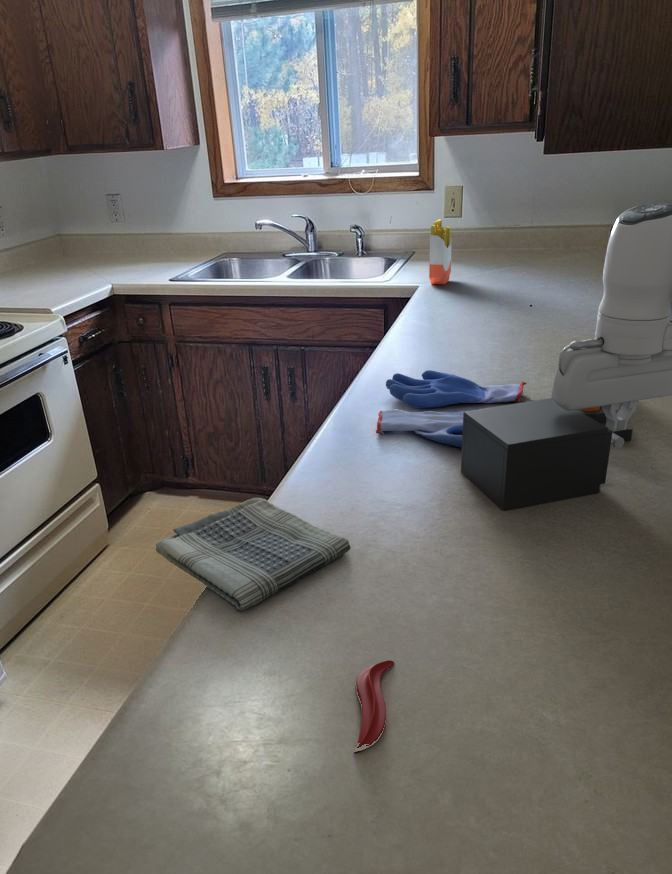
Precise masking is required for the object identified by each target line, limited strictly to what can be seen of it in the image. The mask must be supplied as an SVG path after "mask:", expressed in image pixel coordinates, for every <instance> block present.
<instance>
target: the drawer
mask: <svg viewBox="0 0 672 874" xmlns="http://www.w3.org/2000/svg"><path fill="white" fill-rule="evenodd" d="M607 434H608V435H607V442H606V449H605V456H604V463H603V471H602V478H601V485H604V484H606V480H607V473H608V466H609V460H610V459H609V458H610V454H611V447H612V448H615V449H620V448H622V447H623V446H624V444H625V442H624V439H623V438H621V437H620V436H618V435H616V434H614V433H613V431H611V430H609V429H608V433H607Z"/></svg>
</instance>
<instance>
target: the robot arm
mask: <svg viewBox="0 0 672 874" xmlns="http://www.w3.org/2000/svg"><path fill="white" fill-rule="evenodd" d="M602 283H603V295H602V298H601V301H600V303H599V306H598V310H597V317H596V325H595V333H594V338H588V339H585V340H574V341H571V342H570V343H569V345H567V346H565V347H564V348H563V350H560V353H559V356H558V364H557V365H558V366H557V369H556V373H555V376H554V380H553V385H552V391H551V398H552V400H553V401H554V402H555V404H556V405H558V406H559V407H561V408H563V409H565V410H567V411H572V410H578V409H585V408H592V407H598V406H601V407H602V409H603V411H604V413H605V415H606V417H607V420H606V427H608V429H609V430H611V431H613V432H615V431H621V430H626V429H627V424H628V422H629V420H630V418H631V417H632V416H633V415H634V413H635V411H636V410H637V409H638V407H639V401H643V400H650V399H658V398H664V397H670V396H672V320H671V319H670V317H671V312H672V311H671V303H672V203H664V202H658V203H657V202H655V203H649V204H641V205H636V206H633V207H630V208H627V209H626V210H624V211H623V212H622V213H620V214H619V216H618V217H617V218H616V220H615V222H614V224H613V227H612V229H611V232H610V236H609V239H608V243H607V247H606V252H605V258H604V264H603V272H602ZM619 407H620V410H619ZM615 410H619V411H618V413H617V414H616V411H615Z"/></svg>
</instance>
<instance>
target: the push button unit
mask: <svg viewBox="0 0 672 874" xmlns="http://www.w3.org/2000/svg"><path fill="white" fill-rule="evenodd" d="M620 408H621V406H619V410H620ZM619 410H615V411H616V414H617V413H618V411H619ZM578 411H580V412H581V413H583V414H585V415H587V416H588V417H590V418H592V419H594V420H595V421H597V422H599V423H601V424H602V425H604V426H606V420H607V417H606V415H605V413H604V411H603V409H602V407H601V406H600V410H598V411H583V410H579V409H578ZM633 431H634V429H633V427H632V425H631V424H630V422H629V421H628V424H627V429H626V430H621V431H615V432H613V433H614V434H616V435H618V436H620V437H621V438H623V439H624V443H631V442H632V436H633Z"/></svg>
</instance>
